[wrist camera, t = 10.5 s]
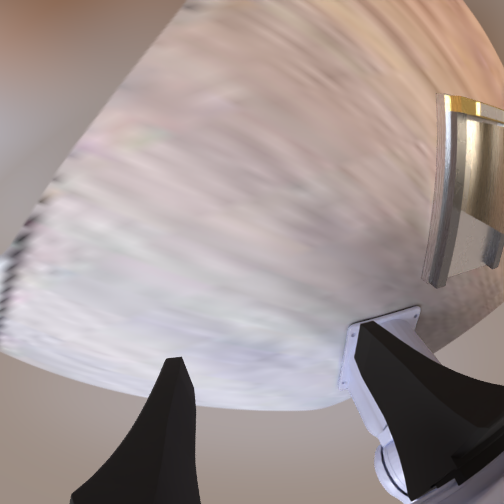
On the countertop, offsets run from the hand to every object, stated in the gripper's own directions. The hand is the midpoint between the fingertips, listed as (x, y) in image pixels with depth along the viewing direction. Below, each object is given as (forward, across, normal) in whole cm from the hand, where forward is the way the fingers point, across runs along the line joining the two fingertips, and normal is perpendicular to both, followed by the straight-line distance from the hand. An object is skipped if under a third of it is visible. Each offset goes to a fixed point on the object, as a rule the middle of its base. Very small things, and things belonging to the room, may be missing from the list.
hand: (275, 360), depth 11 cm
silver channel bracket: (+9, -21, -3) cm, 23 cm away
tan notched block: (+8, -21, -5) cm, 23 cm away
